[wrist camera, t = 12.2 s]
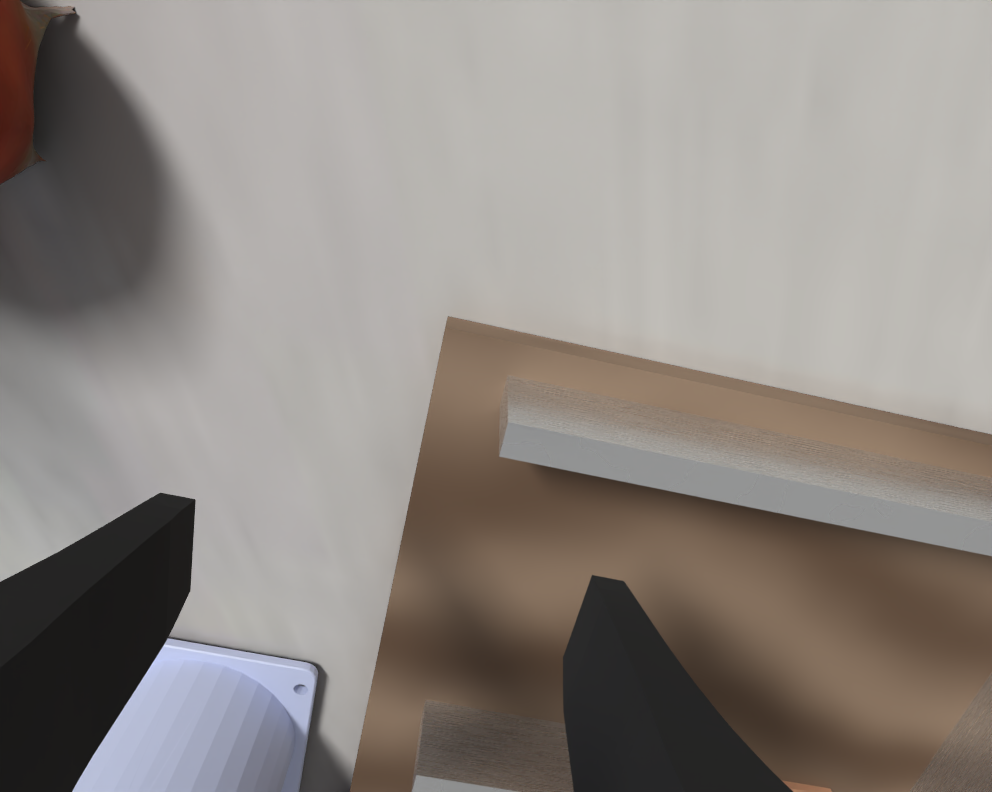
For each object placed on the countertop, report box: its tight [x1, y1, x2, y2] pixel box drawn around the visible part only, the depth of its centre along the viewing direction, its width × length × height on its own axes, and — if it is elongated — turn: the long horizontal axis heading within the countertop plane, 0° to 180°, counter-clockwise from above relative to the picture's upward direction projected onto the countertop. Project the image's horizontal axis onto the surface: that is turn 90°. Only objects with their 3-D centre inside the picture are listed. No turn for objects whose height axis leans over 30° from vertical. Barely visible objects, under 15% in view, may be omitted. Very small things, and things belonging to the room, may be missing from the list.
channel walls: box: [411, 375, 992, 792], centre depth 24 cm, size 21×20×3 cm
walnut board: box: [350, 316, 992, 792], centre depth 26 cm, size 24×24×1 cm
